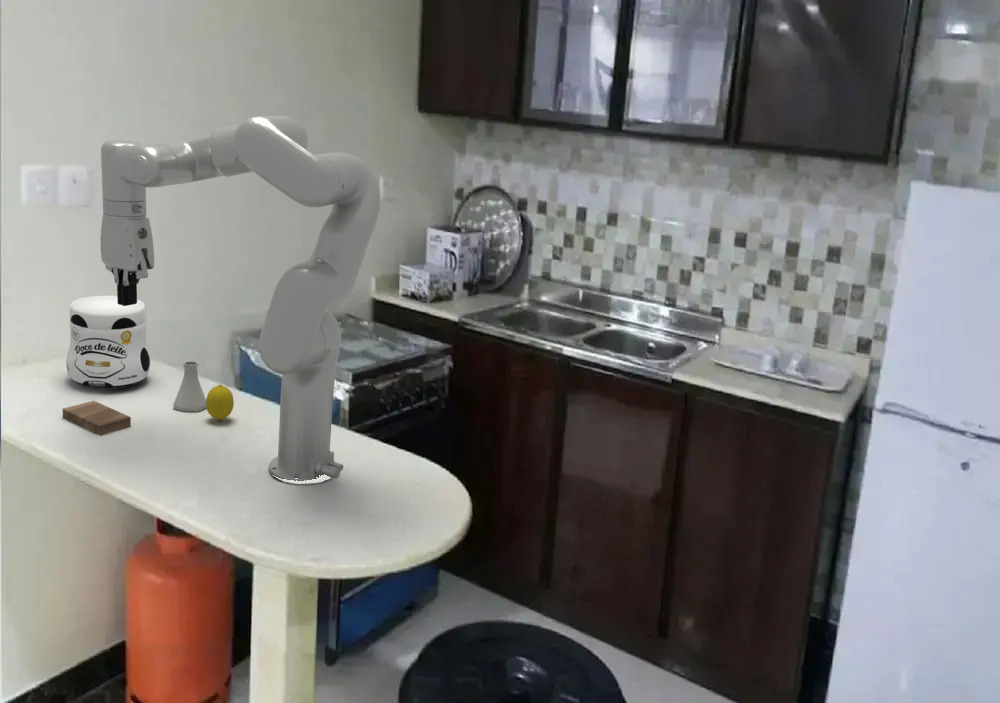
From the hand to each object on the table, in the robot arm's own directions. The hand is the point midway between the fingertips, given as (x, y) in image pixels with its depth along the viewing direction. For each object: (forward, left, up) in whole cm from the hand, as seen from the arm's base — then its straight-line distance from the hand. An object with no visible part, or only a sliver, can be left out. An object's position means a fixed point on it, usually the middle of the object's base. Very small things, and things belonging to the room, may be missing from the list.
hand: (127, 304), depth 178 cm
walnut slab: (+1, +2, -25) cm, 25 cm away
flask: (+1, -17, -26) cm, 31 cm away
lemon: (-9, -16, -26) cm, 32 cm away
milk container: (+25, -14, -26) cm, 39 cm away
